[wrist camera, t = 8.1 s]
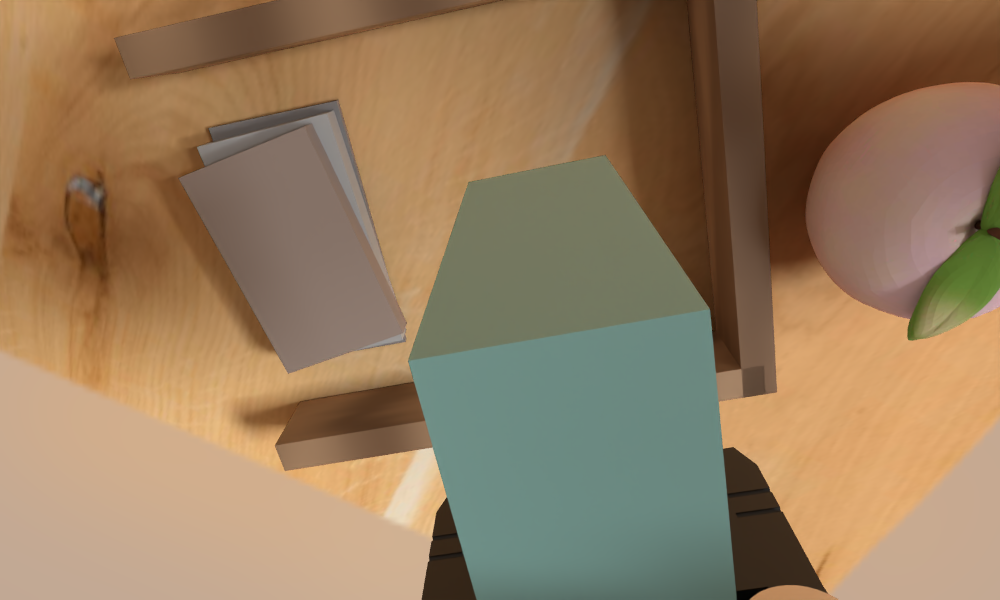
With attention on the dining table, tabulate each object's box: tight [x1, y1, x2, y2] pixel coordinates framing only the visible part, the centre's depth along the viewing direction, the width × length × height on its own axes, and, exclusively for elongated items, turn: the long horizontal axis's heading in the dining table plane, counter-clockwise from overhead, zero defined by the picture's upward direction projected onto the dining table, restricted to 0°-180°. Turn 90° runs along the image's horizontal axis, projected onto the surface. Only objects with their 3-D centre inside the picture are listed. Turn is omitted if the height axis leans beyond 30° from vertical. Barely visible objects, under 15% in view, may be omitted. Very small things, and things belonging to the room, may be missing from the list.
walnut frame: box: [114, 0, 777, 471], centre depth 29 cm, size 24×20×4 cm
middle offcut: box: [197, 110, 406, 351], centre depth 31 cm, size 6×11×1 cm, turn 14°
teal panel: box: [408, 155, 737, 600], centre depth 10 cm, size 2×10×7 cm, turn 11°
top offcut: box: [178, 123, 407, 374], centre depth 30 cm, size 6×10×1 cm, turn 21°
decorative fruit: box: [805, 82, 1000, 340], centre depth 26 cm, size 9×8×10 cm
